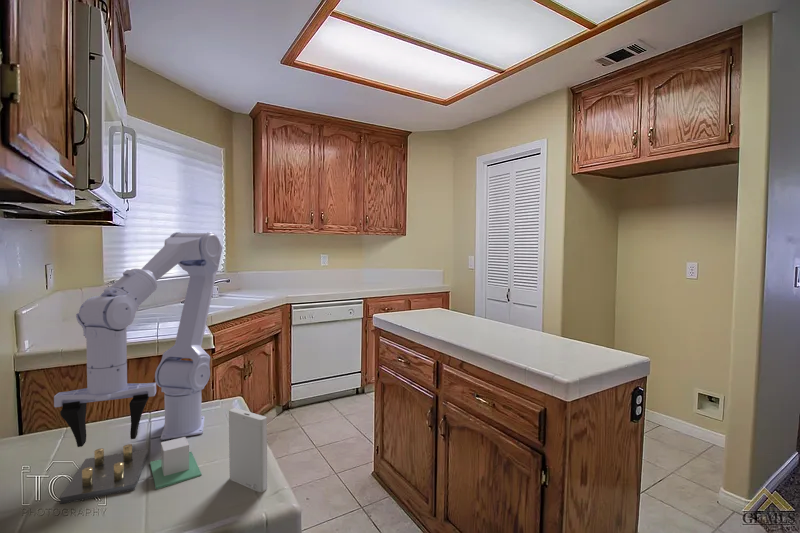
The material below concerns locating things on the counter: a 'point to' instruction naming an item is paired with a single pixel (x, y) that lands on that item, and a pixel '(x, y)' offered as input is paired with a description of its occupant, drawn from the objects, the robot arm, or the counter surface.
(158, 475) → the board
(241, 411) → the external hard drive
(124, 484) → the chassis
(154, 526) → the counter surface
